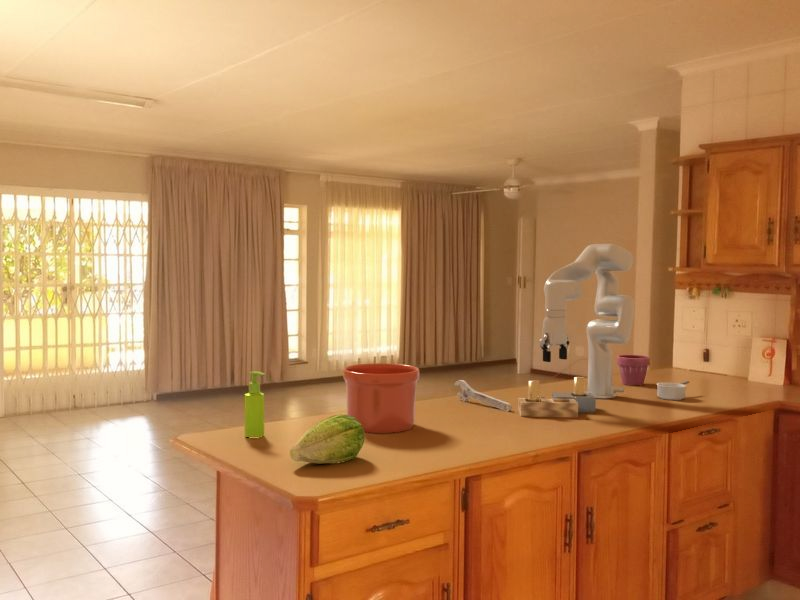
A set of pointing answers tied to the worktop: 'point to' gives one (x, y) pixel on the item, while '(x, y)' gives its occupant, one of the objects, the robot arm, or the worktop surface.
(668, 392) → the saucepan
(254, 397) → the soap dispenser
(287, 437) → the worktop surface
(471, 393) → the wrench
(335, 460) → the green papaya
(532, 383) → the amber rod
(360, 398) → the pot
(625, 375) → the plant pot
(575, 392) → the gold cylinder
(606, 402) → the worktop surface
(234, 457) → the worktop surface
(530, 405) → the rack
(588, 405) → the socket block
